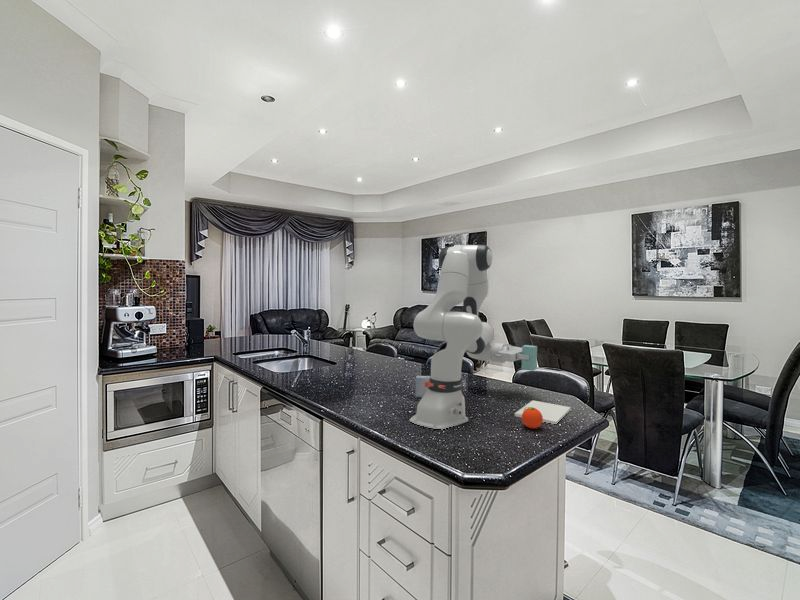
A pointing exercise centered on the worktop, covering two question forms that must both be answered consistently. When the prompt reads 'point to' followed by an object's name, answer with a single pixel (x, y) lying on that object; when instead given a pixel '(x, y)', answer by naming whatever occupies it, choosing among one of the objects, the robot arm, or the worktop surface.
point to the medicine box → (421, 385)
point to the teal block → (532, 352)
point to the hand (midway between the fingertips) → (531, 356)
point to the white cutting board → (547, 411)
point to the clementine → (532, 417)
